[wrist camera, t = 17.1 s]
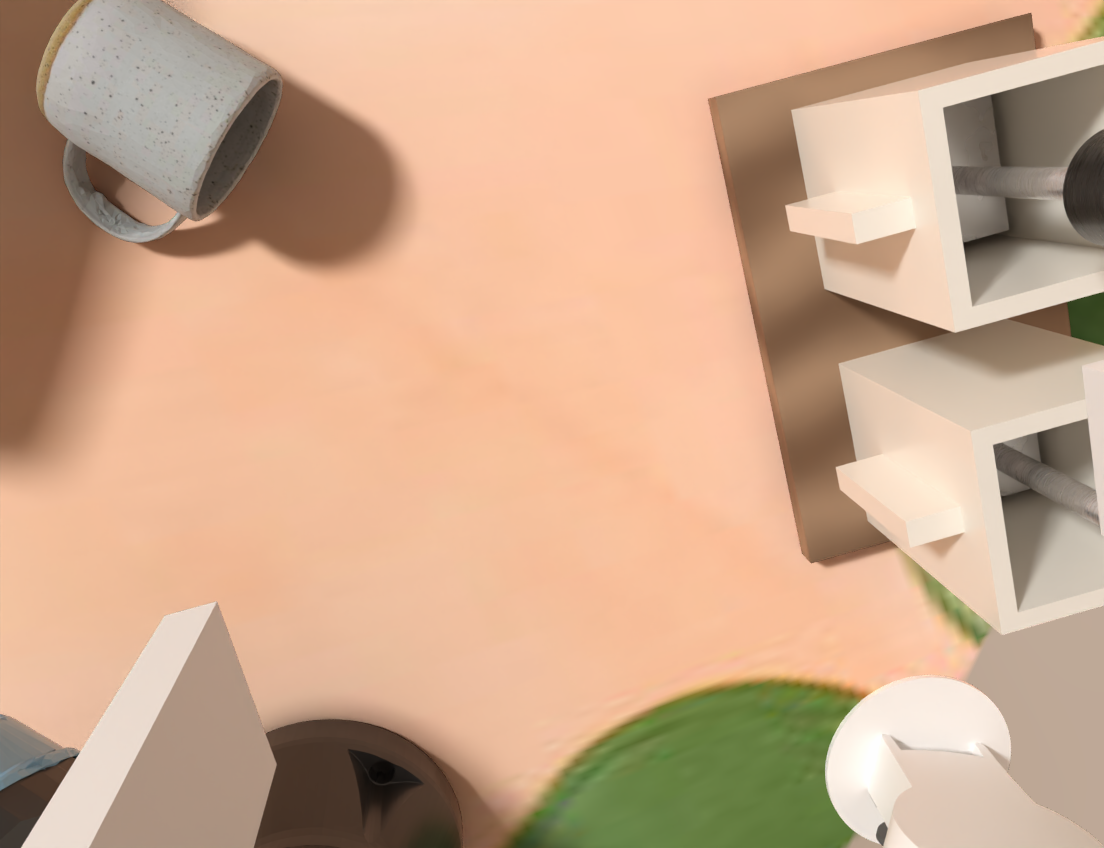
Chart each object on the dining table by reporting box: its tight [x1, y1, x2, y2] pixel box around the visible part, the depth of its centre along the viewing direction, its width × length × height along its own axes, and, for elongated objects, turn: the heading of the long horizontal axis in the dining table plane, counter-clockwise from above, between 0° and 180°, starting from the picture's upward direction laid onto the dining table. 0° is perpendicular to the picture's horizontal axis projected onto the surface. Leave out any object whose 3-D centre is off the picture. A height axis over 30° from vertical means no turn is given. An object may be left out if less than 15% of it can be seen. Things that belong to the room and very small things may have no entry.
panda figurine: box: [825, 675, 1104, 848], centre depth 55 cm, size 12×11×15 cm
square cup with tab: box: [836, 319, 1104, 635], centre depth 48 cm, size 9×11×14 cm
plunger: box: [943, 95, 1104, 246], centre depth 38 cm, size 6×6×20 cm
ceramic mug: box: [36, 0, 283, 243], centre depth 46 cm, size 11×8×8 cm
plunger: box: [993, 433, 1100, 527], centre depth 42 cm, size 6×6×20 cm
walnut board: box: [708, 13, 1071, 563], centre depth 54 cm, size 25×16×2 cm, turn 14°
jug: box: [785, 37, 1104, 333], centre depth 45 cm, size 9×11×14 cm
